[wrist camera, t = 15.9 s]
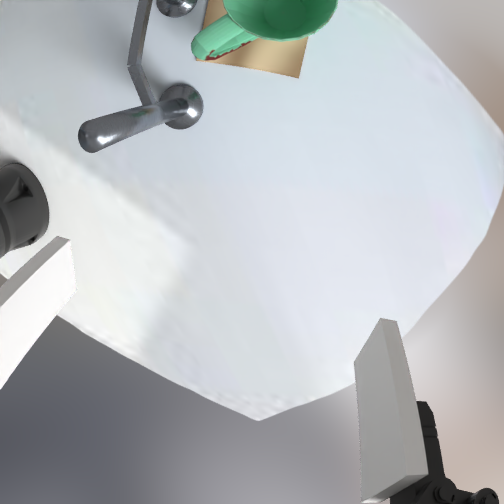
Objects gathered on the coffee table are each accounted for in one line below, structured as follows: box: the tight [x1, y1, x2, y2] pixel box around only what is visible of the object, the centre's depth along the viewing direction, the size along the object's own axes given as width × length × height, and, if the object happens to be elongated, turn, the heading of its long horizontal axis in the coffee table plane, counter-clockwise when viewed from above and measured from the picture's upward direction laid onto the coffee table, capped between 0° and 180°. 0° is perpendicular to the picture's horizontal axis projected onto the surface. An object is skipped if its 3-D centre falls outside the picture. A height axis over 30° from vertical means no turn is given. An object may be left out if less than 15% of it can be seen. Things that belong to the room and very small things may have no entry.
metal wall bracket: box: [78, 0, 203, 153], centre depth 24 cm, size 8×19×19 cm, turn 169°
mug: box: [191, 0, 338, 61], centre depth 25 cm, size 15×10×10 cm
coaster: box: [196, 0, 308, 78], centre depth 29 cm, size 12×12×1 cm
